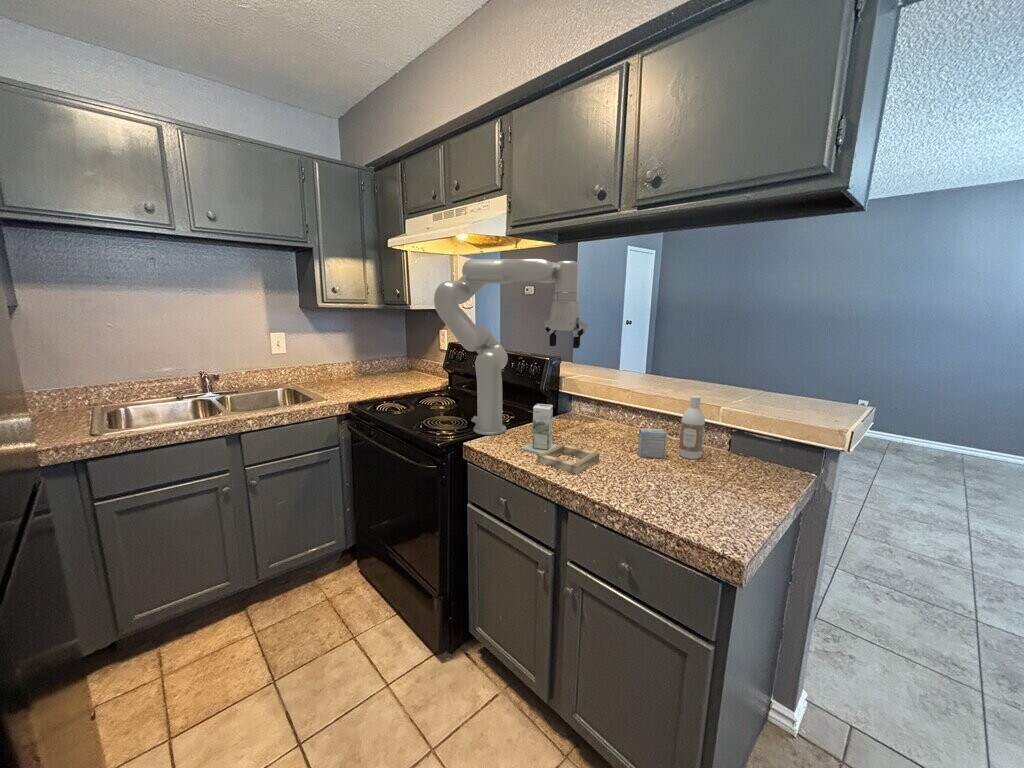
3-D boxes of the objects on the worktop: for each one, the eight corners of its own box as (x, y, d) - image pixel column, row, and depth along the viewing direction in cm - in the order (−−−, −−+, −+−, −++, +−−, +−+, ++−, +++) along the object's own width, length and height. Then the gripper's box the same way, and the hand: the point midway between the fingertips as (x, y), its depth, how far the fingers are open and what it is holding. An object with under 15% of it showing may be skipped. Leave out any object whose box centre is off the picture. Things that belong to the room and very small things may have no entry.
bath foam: (675, 456, 137) (681, 396, 133) (681, 450, 142) (686, 393, 138) (698, 461, 133) (704, 400, 129) (703, 455, 138) (709, 396, 134)
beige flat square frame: (537, 462, 130) (537, 455, 130) (561, 450, 141) (561, 443, 141) (576, 474, 122) (577, 466, 121) (599, 460, 133) (599, 453, 132)
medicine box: (661, 453, 139) (663, 428, 138) (664, 458, 135) (667, 433, 133) (637, 452, 140) (638, 427, 138) (639, 457, 136) (641, 432, 134)
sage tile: (520, 449, 142) (521, 447, 142) (537, 442, 149) (538, 439, 149) (545, 456, 136) (545, 454, 136) (561, 448, 143) (562, 446, 143)
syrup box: (552, 444, 144) (553, 404, 141) (548, 450, 139) (549, 408, 136) (535, 443, 146) (536, 402, 143) (531, 448, 140) (532, 406, 137)
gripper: (539, 297, 148) (538, 346, 152) (582, 297, 138) (580, 349, 141) (551, 297, 154) (550, 344, 157) (593, 298, 143) (591, 348, 147)
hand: (564, 346), depth 149 cm, fingers open, 9 cm apart
